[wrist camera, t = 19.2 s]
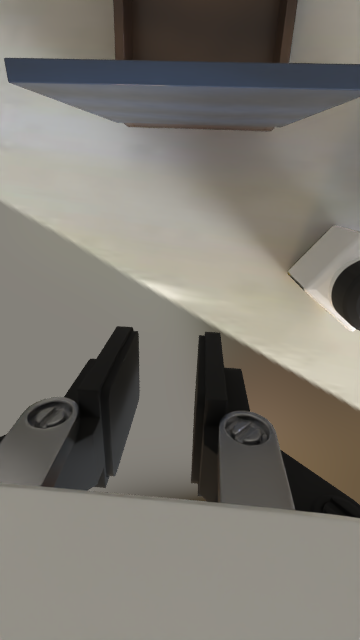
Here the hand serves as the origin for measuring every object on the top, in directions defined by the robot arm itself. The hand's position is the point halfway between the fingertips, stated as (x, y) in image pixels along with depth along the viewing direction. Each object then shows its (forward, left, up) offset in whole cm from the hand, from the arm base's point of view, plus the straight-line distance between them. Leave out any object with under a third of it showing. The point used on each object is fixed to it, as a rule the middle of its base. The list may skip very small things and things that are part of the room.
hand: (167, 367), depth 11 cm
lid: (-6, -10, -14) cm, 18 cm away
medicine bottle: (-13, +10, -27) cm, 32 cm away
